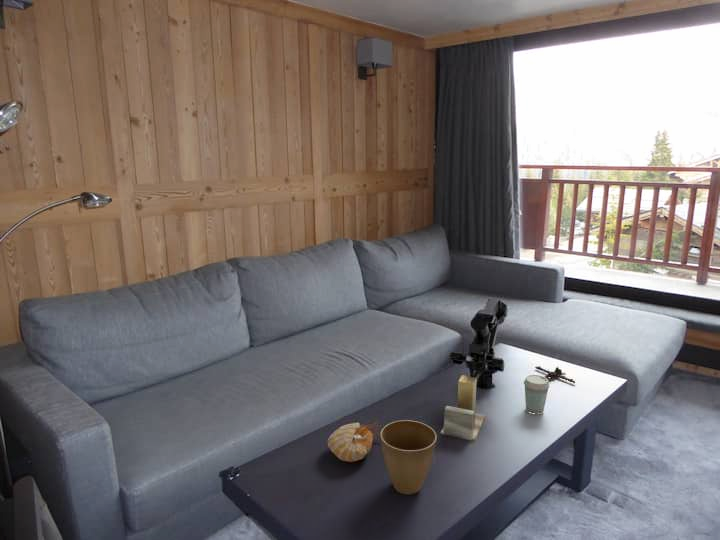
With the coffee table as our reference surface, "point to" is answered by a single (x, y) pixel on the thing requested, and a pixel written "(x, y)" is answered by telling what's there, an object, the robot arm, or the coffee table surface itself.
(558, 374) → the dark brown branching piece
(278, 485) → the coffee table surface
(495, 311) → the robot arm
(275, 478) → the coffee table surface
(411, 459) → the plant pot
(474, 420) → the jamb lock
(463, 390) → the latch bar
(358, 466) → the coffee table surface
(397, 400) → the coffee table surface
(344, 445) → the nautilus
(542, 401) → the coffee cup
